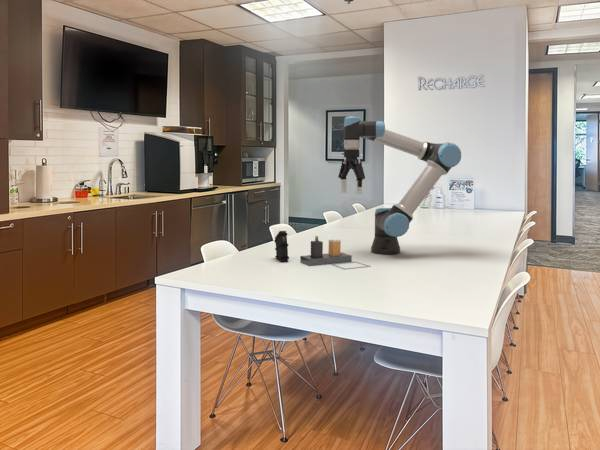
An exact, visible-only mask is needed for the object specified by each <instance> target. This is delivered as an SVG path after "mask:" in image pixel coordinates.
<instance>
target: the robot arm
mask: <svg viewBox="0 0 600 450" xmlns="http://www.w3.org/2000/svg"><path fill="white" fill-rule="evenodd" d="M343 123H344V124H343V149H344V150H343V157H344V158H343V159H342V160H341V165H340V169H339V173H338V176H337V177H338V178H339V179H340V193H342V194H343V193H347V185H348V184H347V181H348V180H347V179H348V178H347V176H348V174H349V172H350V170H352V171H353V173H354V175H355V178H356V180H355V195H362V194H363V193H362V190H363V189H362V188H363V180H365V179H366V176H365V172H364V168H363V164H362V158H360V151H361V150H360V141H361V139H367V140H369V141H373V142H376V143H378V144H380V145H381V144H382V145H384V146H387V147H390V148H392V149H395V150H398V151H401V152H404V153H407V154H409V155H412V156H415V157H417V159H418V160H421V161H423V162H425V163H426V164H427V165H426V166H425V167H424V170H423V171H421V173H420V175H419V176H418V177H417V179H416V180H414V182H413V184H412V185H411V187H410V188H409V189H408V190H407V192H406V193H405V195H403V197H402V199H401V200H400V201H399V202H398V203H396V204H393V205H392V206H391V207H384V208H383V207H382V208H379V207H378V208H376V209H375V212H374V238H373V241H372V244H371V246H370V253H374V254H378V255H396V254H400V253H401V247H400V244H399V239H398V237H402V236H404V235H405V234H406V233H407V232H408V231H409V228H410V223H411V222H412V221H413V220H414V218H413V216H414V215H413V214H414V213H415V211H416V210H417V209H418V208H419V206H420V205H421V204H422V203H423V201H424V200H425V198H426V197H427V195H429V193H430V191H431V190H432V189H433V188H434V186H435V185H436V184H437V182H438V181H439V180H440V178H441V177H442V176H445V175H447V174H448V173H449V172H450V170H451V169H452V168H454V167H456V166H457V165H458V164H459V163H460V162H461V159H462V151H461V148H460V147H459V146H458V145H457V144H456V143H451V142H442V143H433V142H429V141H426V140H425V141H419V140H417V139H414V138H410V137H408V136H406V135H403V134H400V133H397V132H395V131H392V130H388V129H387V128H386V125H385V122H384V121H381V120H380V121H379V120H361V117H360V116H354V115H352V116H350V115H349V116H345V118H344V121H343ZM358 158H360V159H358Z"/></svg>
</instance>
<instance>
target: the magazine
mask: <svg viewBox="0 0 600 450" xmlns="http://www.w3.org/2000/svg"><path fill="white" fill-rule="evenodd" d="M287 236H288V233H287V231H286V230H280V231H278V233H277V234H276V236H274V242H273V243H275V248H274V250H275V253H276V254H275V259H276V260H277V261H279V262H280V263H289V259H290V256H288V255H289V252H288V251H289V250H288V249H289V248H288V247H289V243H288V237H287Z"/></svg>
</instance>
